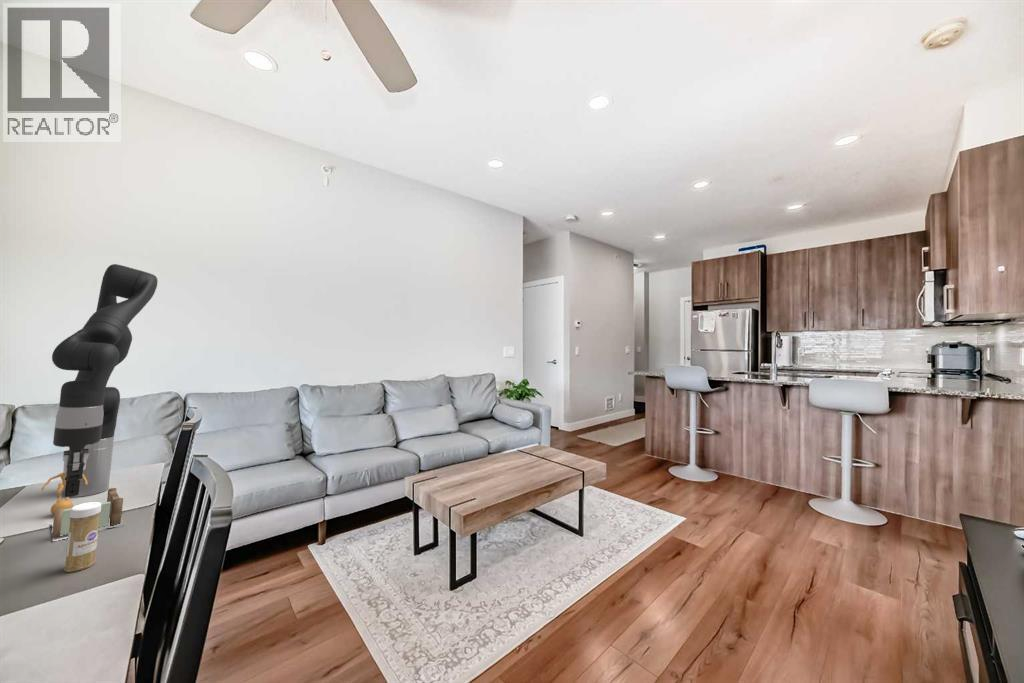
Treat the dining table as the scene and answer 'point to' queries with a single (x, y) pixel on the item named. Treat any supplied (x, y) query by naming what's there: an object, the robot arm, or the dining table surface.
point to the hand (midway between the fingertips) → (71, 495)
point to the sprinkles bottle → (82, 536)
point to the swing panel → (63, 519)
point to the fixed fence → (115, 507)
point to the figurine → (61, 503)
